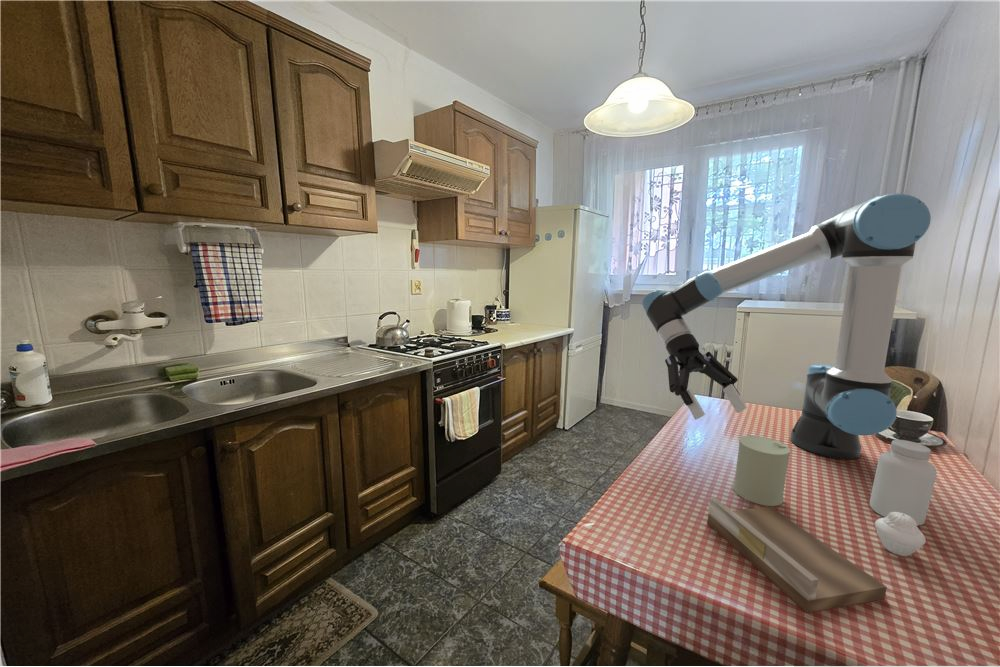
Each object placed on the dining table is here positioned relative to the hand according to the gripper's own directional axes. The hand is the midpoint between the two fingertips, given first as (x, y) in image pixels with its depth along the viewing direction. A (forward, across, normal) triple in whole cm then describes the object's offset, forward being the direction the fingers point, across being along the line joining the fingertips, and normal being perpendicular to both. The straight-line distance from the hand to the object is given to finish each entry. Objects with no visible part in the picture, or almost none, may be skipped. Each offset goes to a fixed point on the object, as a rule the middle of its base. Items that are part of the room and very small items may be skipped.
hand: (721, 413), depth 92 cm
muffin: (+32, -7, +12) cm, 35 cm away
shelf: (+28, +14, +8) cm, 32 cm away
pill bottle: (+28, -20, +7) cm, 35 cm away
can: (+18, 0, -3) cm, 18 cm away
